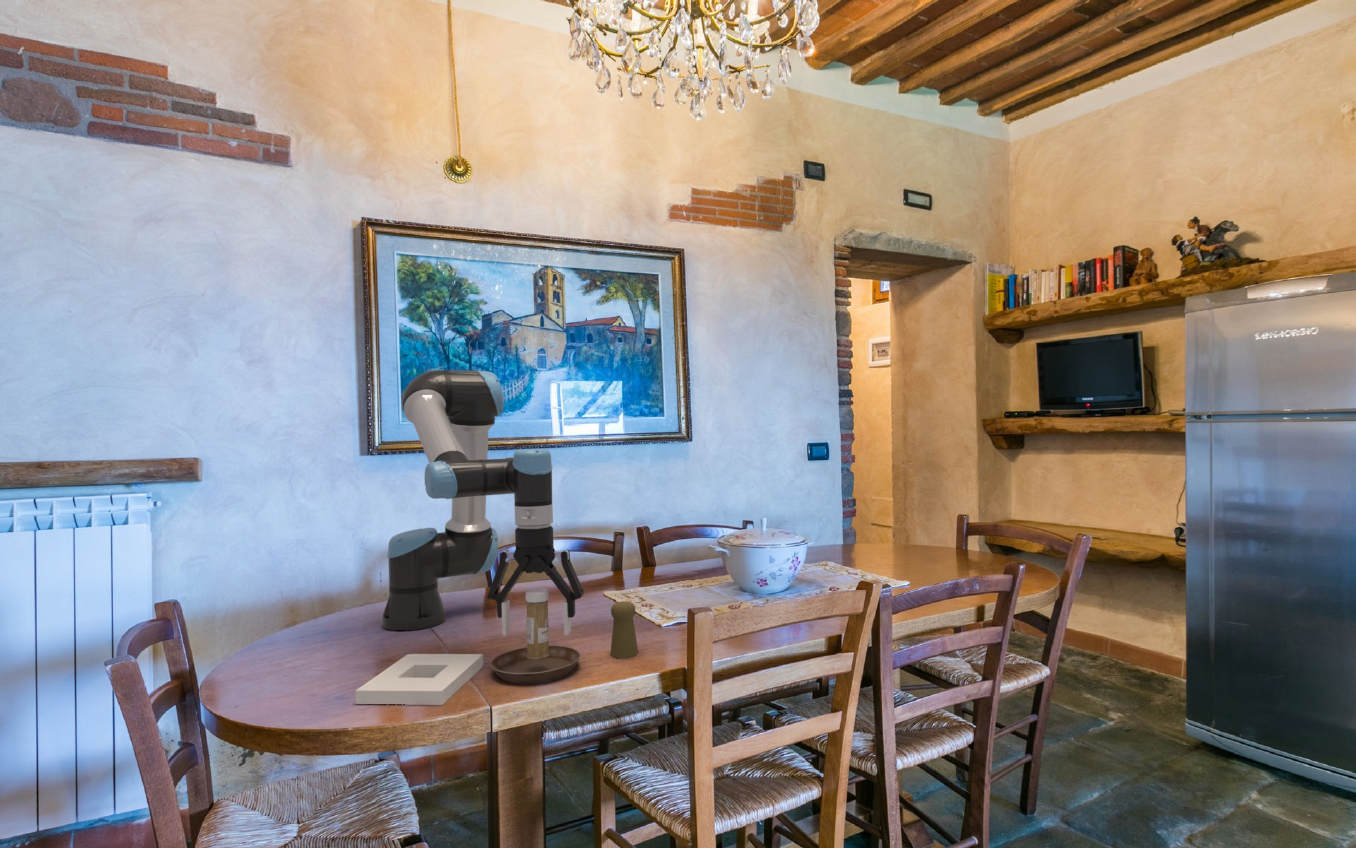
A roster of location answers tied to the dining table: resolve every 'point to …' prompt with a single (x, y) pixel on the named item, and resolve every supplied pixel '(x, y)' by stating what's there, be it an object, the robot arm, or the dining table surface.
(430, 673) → the white board with recess
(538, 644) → the sprinkles bottle
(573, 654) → the plant saucer
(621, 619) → the pepper mill
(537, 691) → the dining table surface
